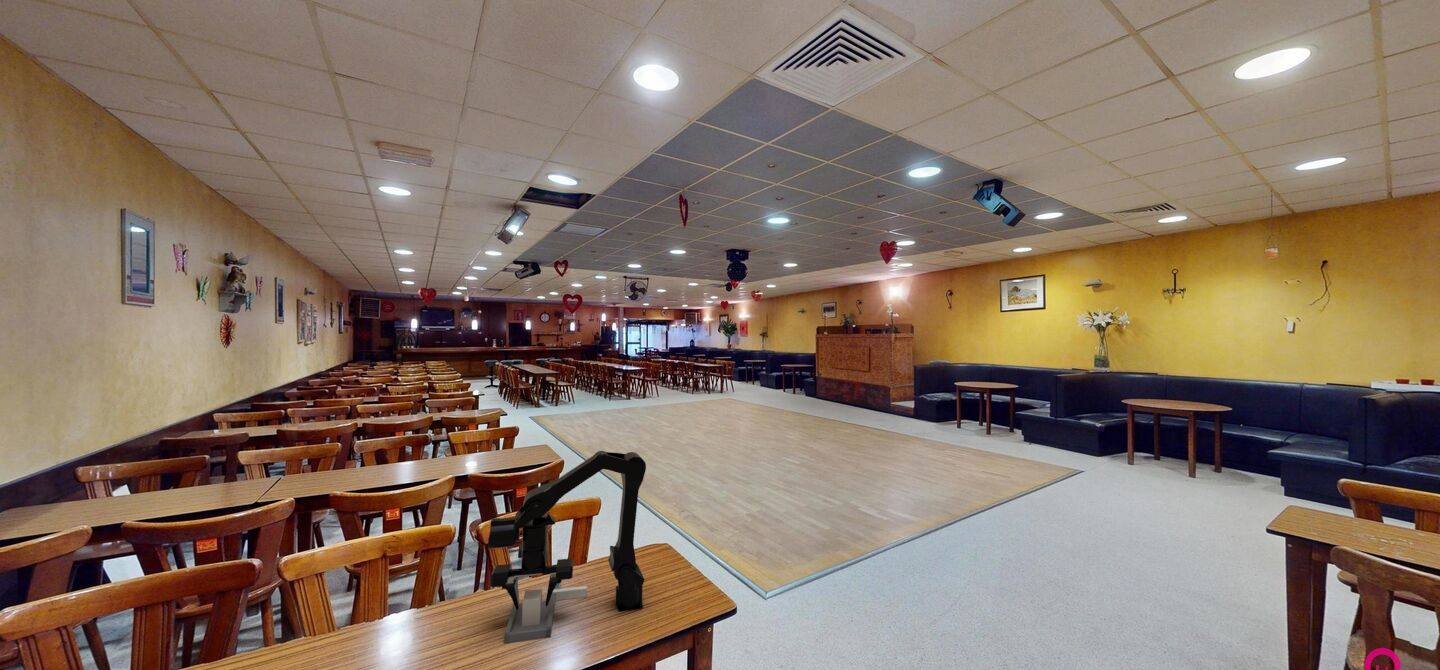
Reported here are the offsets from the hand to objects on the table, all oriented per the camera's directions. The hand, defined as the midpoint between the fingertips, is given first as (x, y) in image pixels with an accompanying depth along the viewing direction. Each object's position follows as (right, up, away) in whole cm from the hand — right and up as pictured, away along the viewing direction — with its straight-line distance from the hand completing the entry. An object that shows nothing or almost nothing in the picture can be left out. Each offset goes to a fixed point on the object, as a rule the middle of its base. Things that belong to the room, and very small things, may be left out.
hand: (532, 607), depth 115 cm
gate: (+4, -4, +14) cm, 15 cm away
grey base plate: (0, -4, 0) cm, 4 cm away
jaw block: (0, -3, 0) cm, 3 cm away
